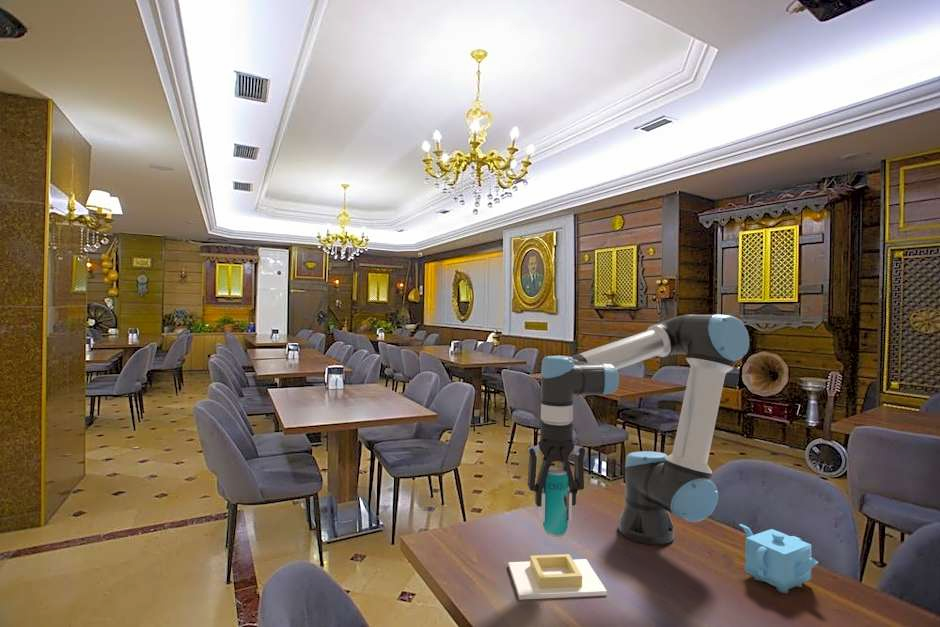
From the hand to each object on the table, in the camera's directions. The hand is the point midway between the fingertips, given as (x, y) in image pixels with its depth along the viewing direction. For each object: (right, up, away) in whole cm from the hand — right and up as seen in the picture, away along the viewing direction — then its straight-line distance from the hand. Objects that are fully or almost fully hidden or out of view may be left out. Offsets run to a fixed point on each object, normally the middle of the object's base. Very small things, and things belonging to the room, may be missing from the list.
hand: (555, 518), depth 114 cm
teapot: (+53, -15, +1) cm, 55 cm away
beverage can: (0, -4, 0) cm, 4 cm away
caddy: (0, -15, 0) cm, 15 cm away
